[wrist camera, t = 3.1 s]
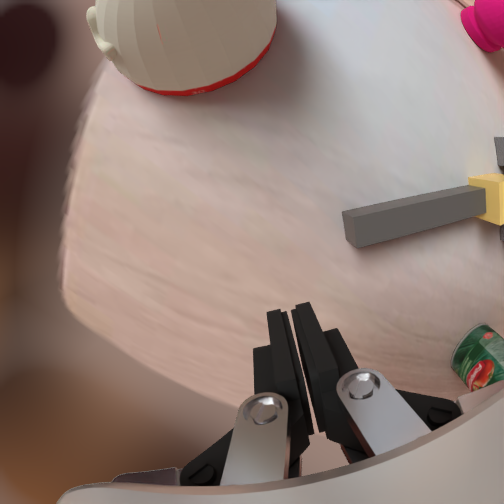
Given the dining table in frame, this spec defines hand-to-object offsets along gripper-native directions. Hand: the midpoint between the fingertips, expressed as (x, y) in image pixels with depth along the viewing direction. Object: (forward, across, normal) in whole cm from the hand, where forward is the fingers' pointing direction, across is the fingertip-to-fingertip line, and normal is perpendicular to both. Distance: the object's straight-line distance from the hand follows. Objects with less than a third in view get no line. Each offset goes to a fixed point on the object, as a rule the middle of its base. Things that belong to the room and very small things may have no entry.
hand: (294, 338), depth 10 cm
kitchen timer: (+13, +2, -20) cm, 24 cm away
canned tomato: (+13, -24, +20) cm, 34 cm away
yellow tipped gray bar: (+12, -16, -1) cm, 21 cm away
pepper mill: (+12, -31, -20) cm, 39 cm away
